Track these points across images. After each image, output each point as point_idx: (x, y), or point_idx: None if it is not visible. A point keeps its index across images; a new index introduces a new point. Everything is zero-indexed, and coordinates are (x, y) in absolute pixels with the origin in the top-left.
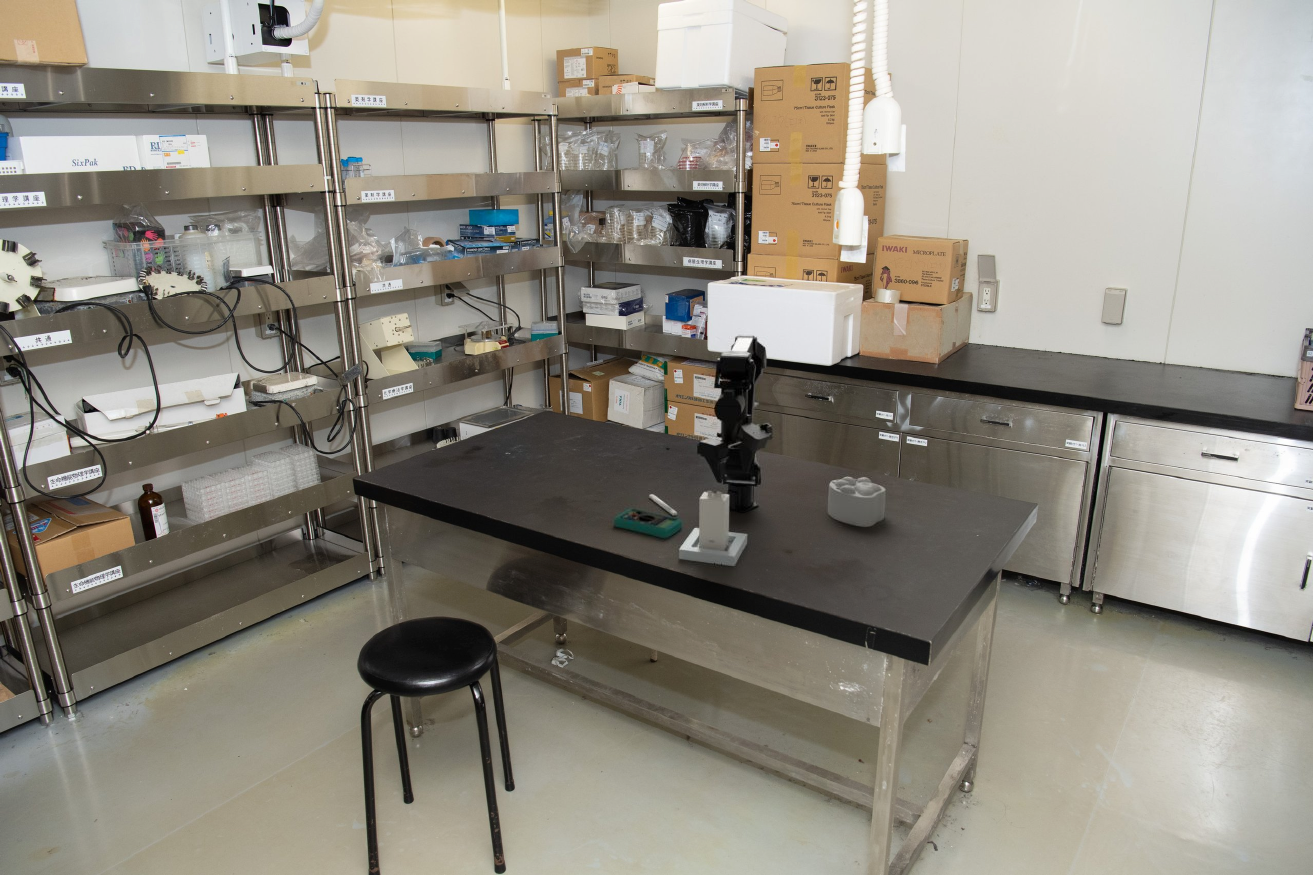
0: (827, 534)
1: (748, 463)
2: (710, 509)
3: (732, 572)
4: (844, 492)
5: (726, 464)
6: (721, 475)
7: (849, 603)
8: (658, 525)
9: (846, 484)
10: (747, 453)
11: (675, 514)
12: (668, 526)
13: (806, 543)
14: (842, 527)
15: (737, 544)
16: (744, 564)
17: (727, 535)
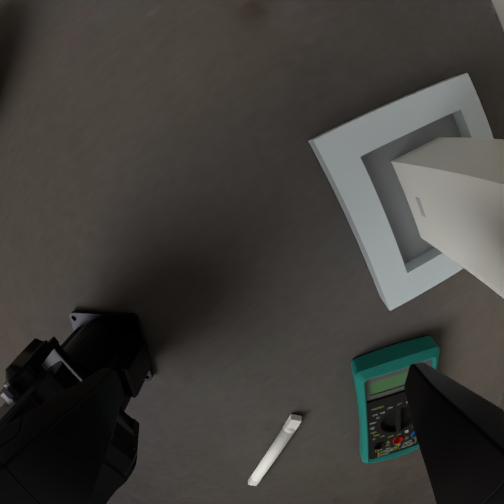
0: (71, 37)
1: (77, 413)
2: None
3: (473, 65)
4: None
5: (124, 476)
6: (460, 391)
7: None
8: None
9: None
10: (43, 483)
11: (294, 416)
12: (422, 359)
13: (160, 18)
14: (19, 58)
15: (406, 111)
16: (424, 59)
17: (420, 156)
